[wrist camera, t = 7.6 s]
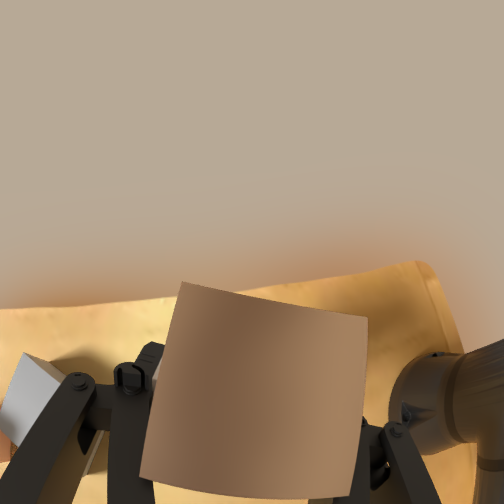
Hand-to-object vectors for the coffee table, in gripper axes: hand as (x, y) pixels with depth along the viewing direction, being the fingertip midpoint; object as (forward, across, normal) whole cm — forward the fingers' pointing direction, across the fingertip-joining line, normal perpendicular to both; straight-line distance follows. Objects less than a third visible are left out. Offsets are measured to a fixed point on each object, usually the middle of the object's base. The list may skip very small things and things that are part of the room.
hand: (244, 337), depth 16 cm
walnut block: (0, 0, -5) cm, 5 cm away
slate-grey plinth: (+3, -17, -19) cm, 26 cm away
